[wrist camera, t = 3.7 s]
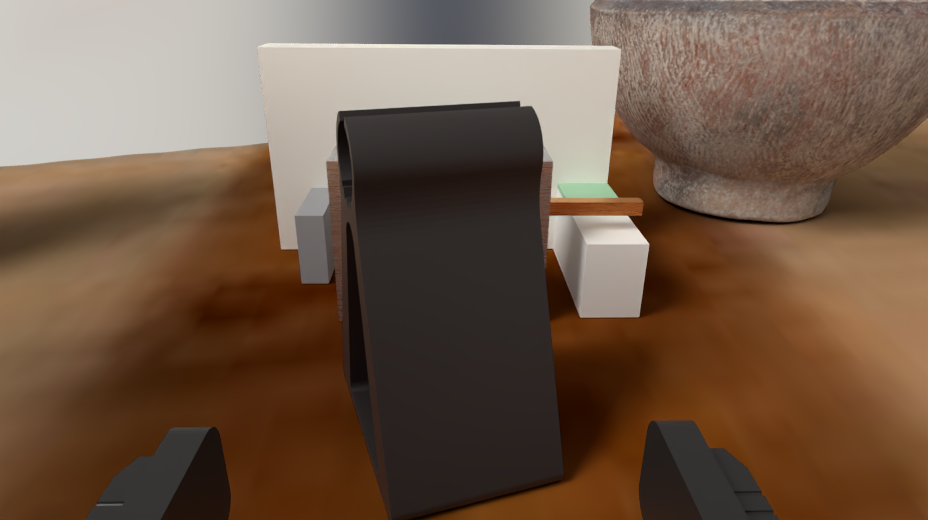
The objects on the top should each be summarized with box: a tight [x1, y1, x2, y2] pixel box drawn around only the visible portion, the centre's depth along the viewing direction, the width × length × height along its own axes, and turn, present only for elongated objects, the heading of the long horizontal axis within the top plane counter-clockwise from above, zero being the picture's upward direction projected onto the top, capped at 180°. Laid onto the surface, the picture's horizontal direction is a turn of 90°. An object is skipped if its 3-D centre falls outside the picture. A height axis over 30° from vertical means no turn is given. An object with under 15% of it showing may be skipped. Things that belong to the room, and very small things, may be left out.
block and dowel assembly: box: [326, 145, 644, 320], centre depth 31 cm, size 15×3×8 cm, turn 92°
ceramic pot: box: [590, 0, 928, 222], centre depth 45 cm, size 25×25×24 cm
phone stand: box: [336, 101, 564, 520], centre depth 22 cm, size 9×6×12 cm, turn 19°
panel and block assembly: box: [257, 43, 649, 318], centre depth 34 cm, size 20×11×12 cm, turn 92°
